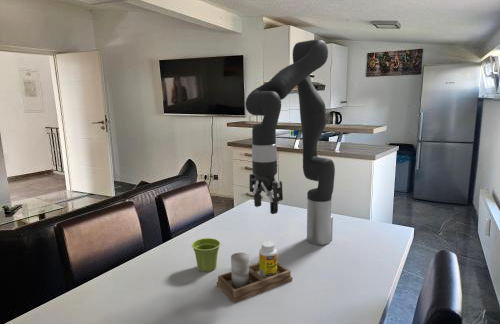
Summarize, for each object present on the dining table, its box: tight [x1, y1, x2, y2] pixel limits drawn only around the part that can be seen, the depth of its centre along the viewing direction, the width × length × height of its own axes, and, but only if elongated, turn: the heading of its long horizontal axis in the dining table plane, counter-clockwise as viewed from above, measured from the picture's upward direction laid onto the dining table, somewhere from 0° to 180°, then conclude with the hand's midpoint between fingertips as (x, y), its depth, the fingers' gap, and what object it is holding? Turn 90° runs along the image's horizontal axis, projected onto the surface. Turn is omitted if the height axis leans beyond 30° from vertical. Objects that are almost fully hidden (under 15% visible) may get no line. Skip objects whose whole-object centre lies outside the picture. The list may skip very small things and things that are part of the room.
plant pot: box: [191, 237, 221, 273], centre depth 112 cm, size 9×9×9 cm
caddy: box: [215, 252, 293, 304], centre depth 102 cm, size 21×11×10 cm, turn 122°
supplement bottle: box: [258, 240, 278, 278], centre depth 104 cm, size 6×6×10 cm
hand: (265, 209), depth 104 cm, fingers open, 8 cm apart
